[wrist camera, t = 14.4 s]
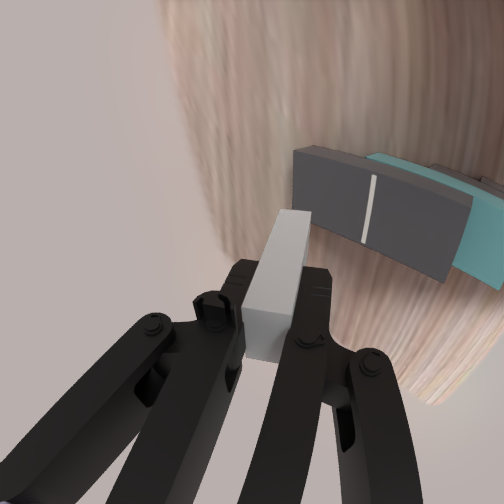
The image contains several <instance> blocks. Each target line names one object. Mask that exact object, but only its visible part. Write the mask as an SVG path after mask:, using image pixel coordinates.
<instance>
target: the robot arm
mask: <svg viewBox="0 0 504 504" xmlns="http://www.w3.org/2000/svg"><path fill="white" fill-rule="evenodd" d="M310 223H311V212H309V211H300V210H290V209H280V211H279V213H278V216H277V218H276V221H275V223H274V226H273V229H272V231H271V234H270V236H269V239H268V241H267V244H266V246H265V249H264V251H263V254H262V256H261V259H260V261H253V260H246V259H241V260H239V261H238V262H237V263H236V264H234V265H233V266H232V269H231V270H230V272H229V274H228V276H227V278H226V280H225V283H224V284H223V286H222V288H221V290H220V291H209V292H204V293H202V294H201V295H199V296H197V298H196V299H194V301H193V306H194V309H195V313H196V317H197V320H195V321H190V322H171V319H170V318H169V317H168V316H167V315H165V314H163V313H150V314H147V315H145V316H144V317H142V318H141V319H139V320H138V321H137V322H136V323H135V324H134V325H133V326H132V327H131V328H130V329H129V330H128V331H127V332H126V333H125V334H124V335H123V336H122V337H121V338H120V339H119V340H118V341H117V342H116V343H115V344H114V345H113V346H112V347H111V348H110V349H109V350H108V351H107V352H106V353H105V354H104V355H103V356H102V357H101V358H100V359H99V360H98V361H97V362H96V363H95V364H94V365H93V366H92V367H91V368H90V369H89V370H88V371H87V372H86V373H85V374H84V375H83V376H82V377H81V378H80V379H79V380H78V381H77V382H76V383H75V384H74V385H73V386H72V387H71V388H70V389H69V390H68V391H67V392H66V393H65V394H64V395H63V396H62V397H61V398H60V399H59V401H57V402H56V403H55V405H54V406H53V407H52V408H51V409H50V410H49V411H48V412H47V413H46V414H45V415H44V416H43V417H42V418H41V419H40V420H39V421H38V423H37V424H36V425H35V426H34V427H33V428H32V429H31V430H30V431H29V433H27V435H26V436H25V437H24V438H23V439H22V440H21V441H20V442H19V443H18V444H17V445H16V447H15V448H14V449H13V450H12V451H11V452H10V453H9V454H8V455H7V457H6V458H5V459H4V460H3V461H2V462H0V504H75V503H76V502H77V501H78V500H79V499H80V498H81V497H82V496H83V495H84V494H85V493H86V492H87V491H88V489H90V487H91V486H92V485H93V484H94V483H95V482H96V481H97V480H98V479H99V477H100V476H101V475H102V474H103V473H104V472H105V471H106V470H107V468H108V467H109V466H110V465H111V464H112V463H113V462H114V460H115V459H116V458H117V457H118V456H119V455H120V454H121V453H122V451H123V450H124V449H125V448H126V447H127V446H128V444H129V443H130V442H131V441H132V440H133V439H134V437H135V436H136V435H137V434H138V433H139V432H140V433H139V435H138V437H137V439H136V441H135V443H134V445H133V447H132V449H131V451H130V453H129V455H128V457H127V460H126V461H125V464H124V466H123V468H122V470H121V472H120V474H119V476H118V478H117V480H116V482H115V484H114V486H113V489H112V491H111V493H110V495H109V497H108V499H107V501H106V504H193V501H194V499H195V497H196V494H197V491H198V489H199V486H200V483H201V481H202V478H203V476H204V473H205V471H206V468H207V465H208V463H209V460H210V458H211V455H212V452H213V450H214V447H215V444H216V441H217V439H218V436H219V433H220V430H221V428H222V425H223V422H224V419H225V417H226V414H227V411H228V408H229V405H230V403H231V400H232V397H233V394H234V391H235V388H236V385H237V382H238V380H239V377H240V374H241V371H242V358H243V355H244V353H245V354H246V358H251V359H257V360H262V361H267V362H273V363H279V365H278V369H277V373H276V377H275V381H274V385H273V388H272V392H271V396H270V399H269V403H268V407H267V410H266V414H265V418H264V421H263V424H262V428H261V432H260V435H259V438H258V441H257V444H256V448H255V451H254V454H253V458H252V461H251V464H250V467H249V470H248V473H247V476H246V479H245V483H244V485H243V488H242V491H241V494H240V497H239V500H238V503H237V504H300V503H301V499H302V495H303V491H304V487H305V483H306V479H307V475H308V470H309V466H310V461H311V456H312V452H313V447H314V441H315V437H316V431H317V426H318V420H319V414H320V408H321V402H323V403H326V404H328V405H330V406H332V412H333V419H334V427H335V435H336V443H337V453H338V462H339V472H340V483H341V496H342V504H423V498H422V491H421V484H420V478H419V472H418V468H417V461H416V456H415V451H414V446H413V442H412V437H411V433H410V428H409V424H408V420H407V416H406V412H405V409H404V405H403V401H402V397H401V394H400V390H399V387H398V383H397V380H396V376H395V373H394V370H393V366H392V363H391V361H390V359H389V358H388V356H387V355H386V354H385V353H383V352H382V351H380V350H378V349H375V348H364V349H360V350H358V351H357V352H353V351H351V350H348V349H346V348H344V347H342V346H340V345H339V344H337V343H336V342H335V341H334V340H333V338H332V337H331V335H330V332H329V320H330V307H331V293H332V276H331V275H330V273H329V271H328V269H323V268H315V267H307V266H306V263H307V257H308V246H309V235H310Z"/></svg>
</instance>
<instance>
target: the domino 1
mask: <svg viewBox="0 0 504 504" xmlns="http://www.w3.org/2000/svg"><path fill="white" fill-rule="evenodd" d="M473 197H474V196H471V195H469V194H467V193H464V192H462V191H460V190H457V189H455V188H452V187H450V186H447V185H445V184H442V183H439V182H437V181H434V180H431V179H429V178H426V177H423V176H420V175H417V174H415V173H412V172H409V171H406V170H403V169H400V168H396V167H393V166H390V165H387V164H384V163H380V162H377V161H373V160H370V159H366V158H363V157H359V156H355V155H351V154H348V153H344V152H340V151H335V150H331V149H327V148H323V147H318V146H314V145H313V146H309V147H305V148H301V149H297V150H294V154H293V199H292V210H300V211H309V212H311V223H312V224H315V225H317V226H319V227H322V228H324V229H327V230H329V231H331V232H334V233H336V234H338V235H340V236H343V237H345V238H347V239H350V240H352V241H354V242H356V243H359V244H361V245H363V246H365V247H368V248H370V249H372V250H374V251H376V252H379V253H381V254H383V255H385V256H387V257H389V258H392V259H394V260H396V261H398V262H400V263H402V264H404V265H406V266H409V267H411V268H413V269H415V270H417V271H419V272H421V273H423V274H425V275H427V276H429V277H431V278H433V279H435V280H437V281H439V282H441V283H443V284H444V282H445V280H446V278H447V275H448V273H449V270H450V268H451V266H452V263H453V261H454V258H455V255H456V253H457V250H458V247H459V245H460V242H461V239H462V236H463V233H464V230H465V227H466V224H467V221H468V218H469V214H470V211H471V207H472V202H473Z"/></svg>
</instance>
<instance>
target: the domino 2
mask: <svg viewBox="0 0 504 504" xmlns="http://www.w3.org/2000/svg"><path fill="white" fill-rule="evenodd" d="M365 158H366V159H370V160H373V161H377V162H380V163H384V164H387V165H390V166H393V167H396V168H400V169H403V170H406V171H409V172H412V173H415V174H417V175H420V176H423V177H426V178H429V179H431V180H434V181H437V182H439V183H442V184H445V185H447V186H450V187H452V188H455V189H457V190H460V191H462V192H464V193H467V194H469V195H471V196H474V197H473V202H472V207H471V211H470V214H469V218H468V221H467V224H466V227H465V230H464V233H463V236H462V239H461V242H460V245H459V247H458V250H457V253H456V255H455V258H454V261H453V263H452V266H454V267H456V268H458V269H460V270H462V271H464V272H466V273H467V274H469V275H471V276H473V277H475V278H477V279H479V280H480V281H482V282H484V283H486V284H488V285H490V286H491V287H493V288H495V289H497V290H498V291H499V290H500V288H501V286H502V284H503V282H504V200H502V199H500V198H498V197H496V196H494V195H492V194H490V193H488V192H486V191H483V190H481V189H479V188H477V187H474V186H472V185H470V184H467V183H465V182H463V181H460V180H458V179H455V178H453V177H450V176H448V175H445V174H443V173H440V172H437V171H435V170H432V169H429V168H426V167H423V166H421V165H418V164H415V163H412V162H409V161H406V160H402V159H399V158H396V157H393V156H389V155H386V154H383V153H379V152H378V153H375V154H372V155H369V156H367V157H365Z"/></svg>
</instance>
